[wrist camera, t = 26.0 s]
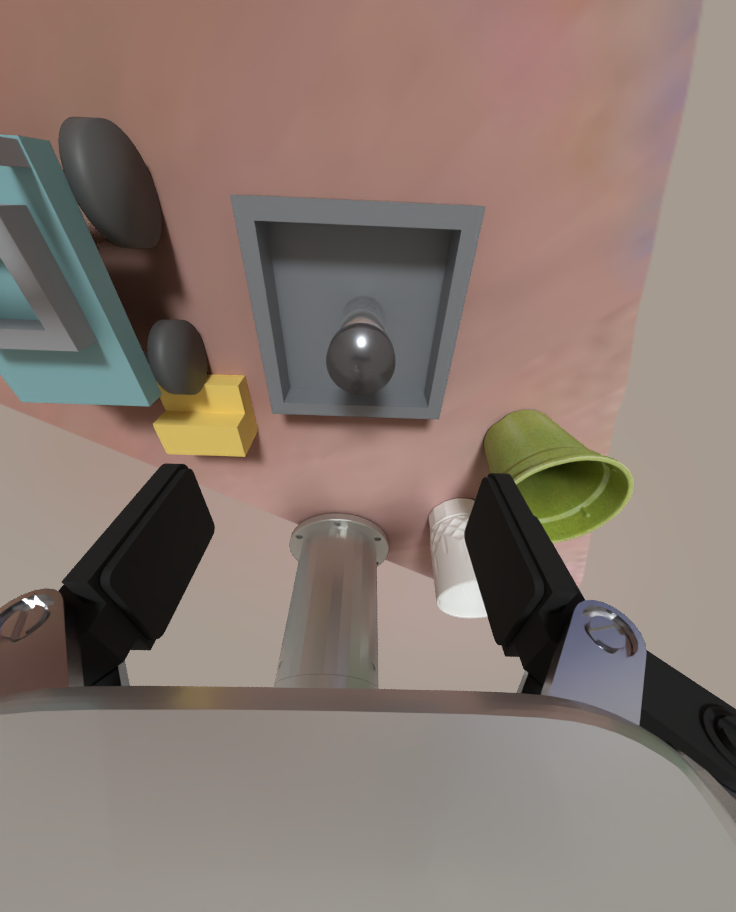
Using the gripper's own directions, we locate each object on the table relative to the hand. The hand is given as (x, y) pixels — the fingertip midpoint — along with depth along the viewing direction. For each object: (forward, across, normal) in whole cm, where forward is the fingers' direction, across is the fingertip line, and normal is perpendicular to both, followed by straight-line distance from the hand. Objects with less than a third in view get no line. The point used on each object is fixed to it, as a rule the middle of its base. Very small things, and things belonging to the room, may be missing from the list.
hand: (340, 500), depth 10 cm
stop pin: (+16, 0, -2) cm, 16 cm away
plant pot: (+17, -15, +8) cm, 24 cm away
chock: (+17, +12, +6) cm, 22 cm away
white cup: (+18, -12, +20) cm, 29 cm away
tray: (+16, 0, -2) cm, 17 cm away
